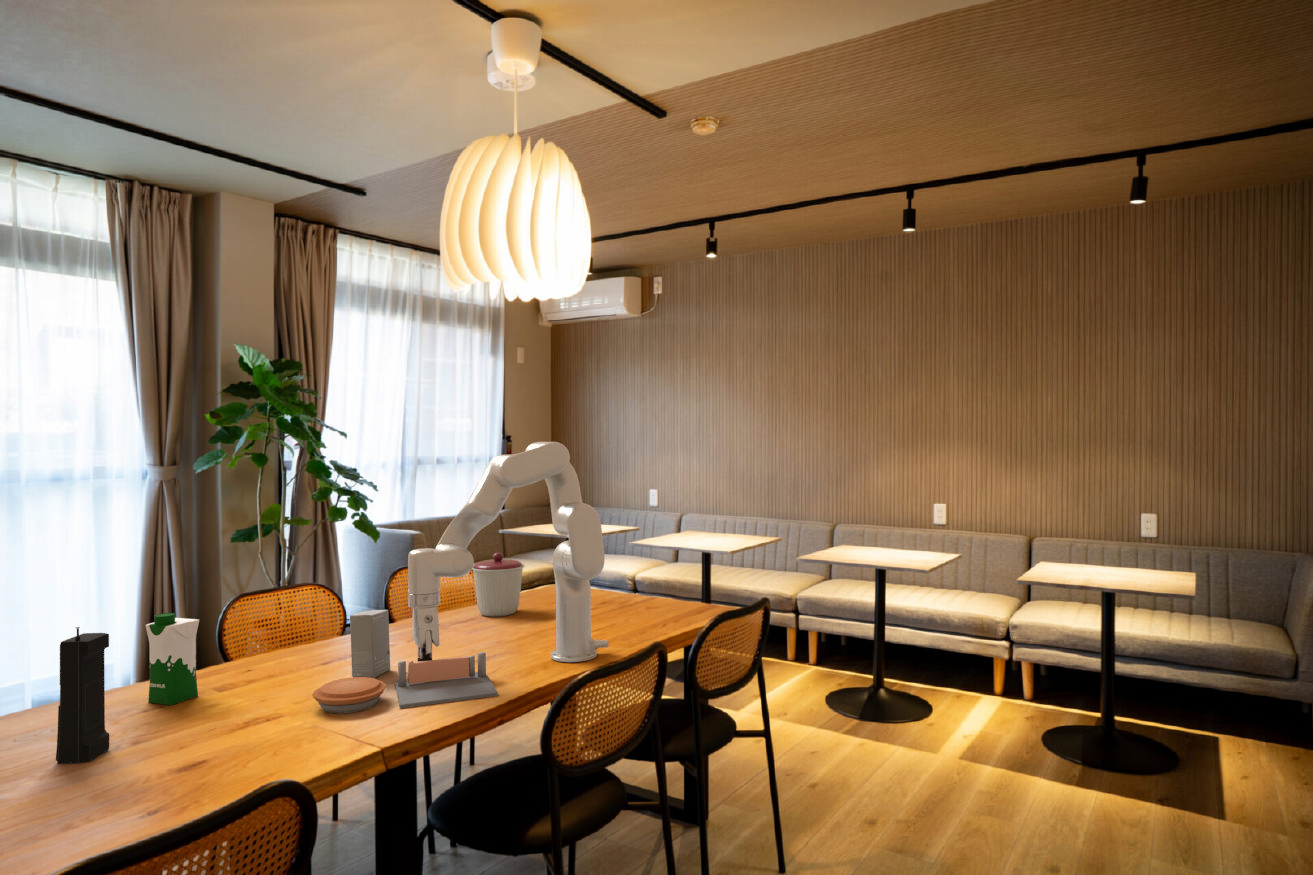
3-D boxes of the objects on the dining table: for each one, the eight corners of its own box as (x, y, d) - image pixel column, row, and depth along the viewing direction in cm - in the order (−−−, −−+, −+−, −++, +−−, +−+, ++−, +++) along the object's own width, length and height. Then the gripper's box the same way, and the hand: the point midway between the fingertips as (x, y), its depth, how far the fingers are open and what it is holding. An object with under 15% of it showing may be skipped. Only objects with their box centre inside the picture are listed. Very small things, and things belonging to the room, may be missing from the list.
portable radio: (80, 748, 152) (80, 619, 152) (113, 746, 152) (112, 618, 153) (53, 764, 144) (52, 628, 144) (87, 763, 144) (87, 627, 145)
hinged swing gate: (484, 674, 198) (484, 648, 198) (497, 695, 181) (497, 667, 181) (395, 684, 190) (394, 658, 190) (399, 708, 173) (399, 678, 173)
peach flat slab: (474, 674, 193) (474, 653, 194) (475, 676, 192) (475, 655, 192) (408, 682, 188) (407, 660, 188) (408, 684, 186) (408, 662, 186)
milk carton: (141, 703, 178) (140, 615, 179) (177, 691, 187) (176, 607, 187) (170, 707, 176) (169, 618, 176) (205, 694, 184) (204, 609, 184)
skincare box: (374, 679, 195) (373, 615, 195) (348, 677, 196) (347, 614, 197) (392, 669, 203) (391, 608, 203) (367, 668, 205) (366, 607, 205)
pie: (315, 722, 165) (315, 698, 165) (310, 701, 179) (310, 679, 179) (391, 709, 172) (391, 687, 172) (381, 690, 186) (380, 669, 186)
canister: (463, 618, 262) (462, 556, 262) (483, 607, 280) (483, 548, 280) (514, 620, 259) (513, 556, 259) (532, 608, 277) (531, 549, 277)
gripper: (446, 603, 188) (447, 679, 188) (433, 592, 201) (434, 664, 201) (414, 606, 184) (415, 684, 184) (403, 595, 198) (403, 668, 197)
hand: (425, 673), depth 192 cm, fingers closed
